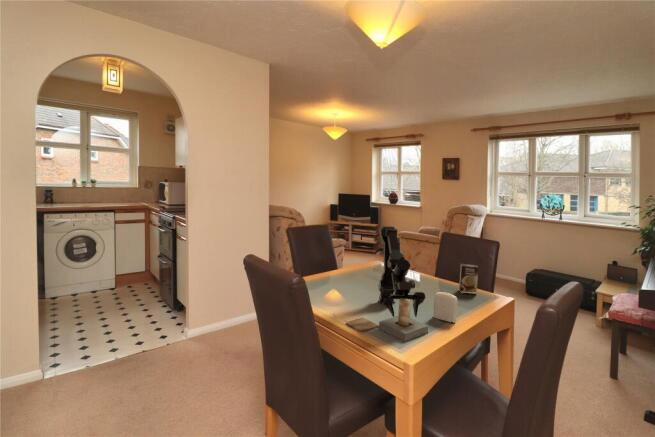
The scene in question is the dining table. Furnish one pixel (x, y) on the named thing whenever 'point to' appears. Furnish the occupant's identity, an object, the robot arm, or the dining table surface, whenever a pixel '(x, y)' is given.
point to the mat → (362, 324)
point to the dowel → (404, 312)
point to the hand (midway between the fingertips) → (404, 316)
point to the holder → (403, 328)
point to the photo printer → (445, 306)
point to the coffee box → (468, 278)
